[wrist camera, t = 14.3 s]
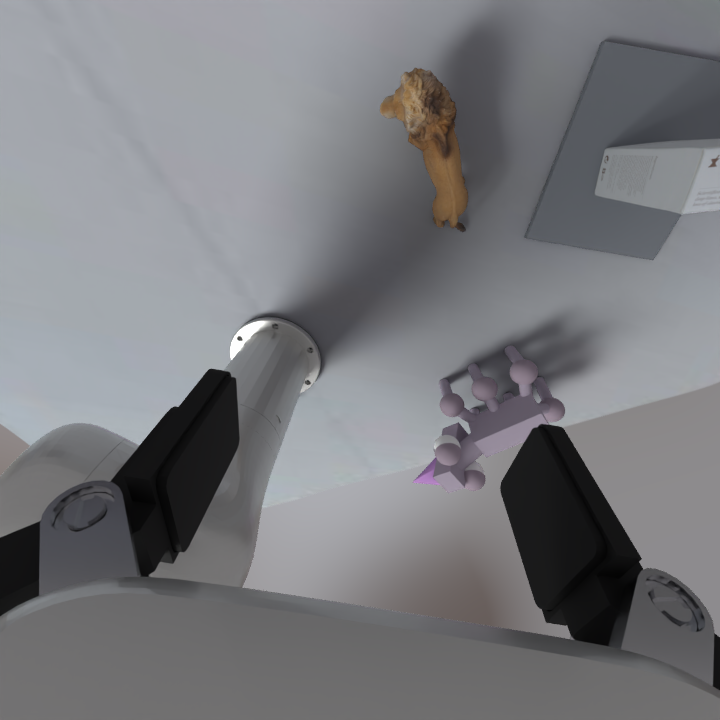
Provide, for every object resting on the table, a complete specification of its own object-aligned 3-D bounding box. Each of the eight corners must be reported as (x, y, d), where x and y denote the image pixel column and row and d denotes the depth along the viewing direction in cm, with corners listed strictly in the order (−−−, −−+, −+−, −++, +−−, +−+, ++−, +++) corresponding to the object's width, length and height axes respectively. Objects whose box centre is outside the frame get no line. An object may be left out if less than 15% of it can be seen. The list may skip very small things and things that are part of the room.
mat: (649, 258, 38) (653, 260, 37) (524, 237, 38) (526, 238, 37) (763, 71, 29) (770, 70, 29) (601, 42, 29) (605, 40, 28)
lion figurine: (376, 104, 32) (371, 93, 25) (428, 64, 31) (439, 39, 23) (442, 241, 39) (454, 266, 31) (488, 215, 37) (513, 235, 29)
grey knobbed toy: (428, 444, 56) (434, 520, 44) (389, 399, 52) (385, 469, 40) (552, 387, 48) (599, 461, 36) (517, 330, 44) (557, 392, 33)
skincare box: (592, 197, 35) (675, 221, 24) (603, 144, 32) (701, 147, 22) (659, 189, 34) (775, 211, 24) (676, 135, 31) (813, 133, 21)
